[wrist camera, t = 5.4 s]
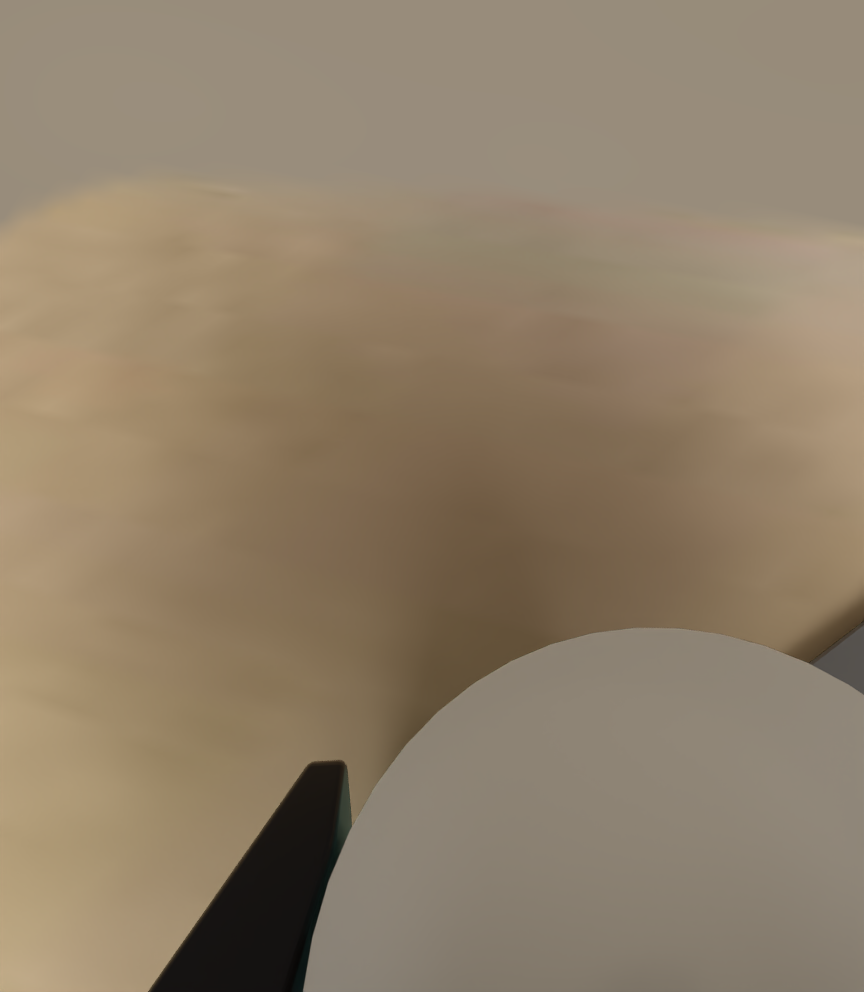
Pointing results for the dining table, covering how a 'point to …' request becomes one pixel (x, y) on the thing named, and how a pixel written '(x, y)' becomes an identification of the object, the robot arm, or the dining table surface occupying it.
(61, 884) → the dining table surface
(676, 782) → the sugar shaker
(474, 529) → the dining table surface
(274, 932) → the robot arm
